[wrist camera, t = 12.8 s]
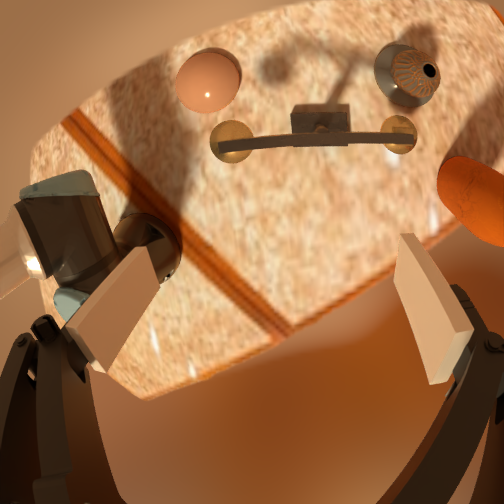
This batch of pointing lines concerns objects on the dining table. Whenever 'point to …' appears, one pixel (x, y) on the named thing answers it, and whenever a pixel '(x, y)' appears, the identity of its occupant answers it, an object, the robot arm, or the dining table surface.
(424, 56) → the vase
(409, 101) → the dish
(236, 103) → the dining table surface
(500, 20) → the dining table surface
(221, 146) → the balance
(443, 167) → the wine bottle
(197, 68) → the dish
